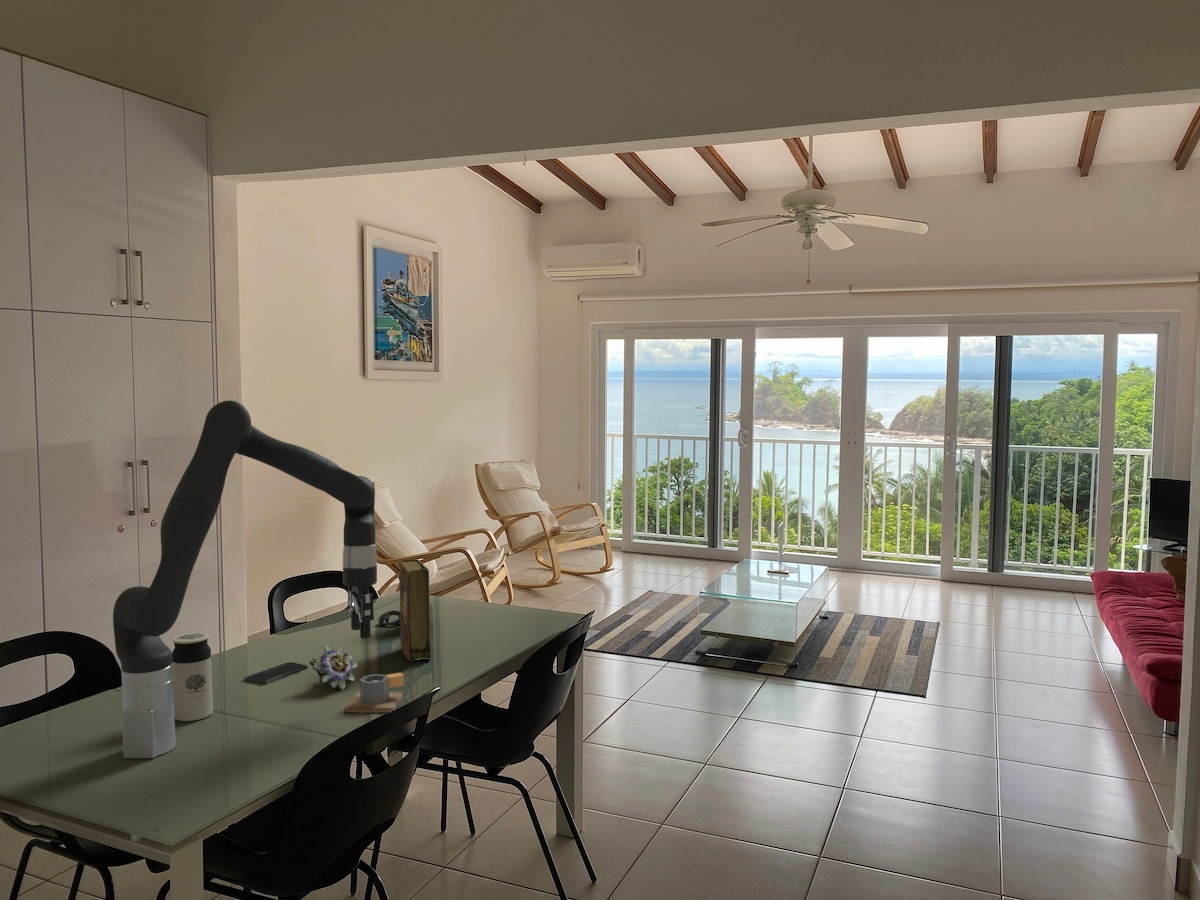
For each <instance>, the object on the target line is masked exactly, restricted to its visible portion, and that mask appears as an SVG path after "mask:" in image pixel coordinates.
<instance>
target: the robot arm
mask: <svg viewBox="0 0 1200 900" xmlns="http://www.w3.org/2000/svg"><path fill="white" fill-rule="evenodd" d="M236 454H238V455H240V456H241V455H242V456H244V457H247V458H249V459H253V460H255V461H258V462H261V463H262V464H265V465H268V466H270V467H272V468H275V469H276V470H278V471H281V472H283V473H285V474H287V475H289V476H291V477H292V478H294V479H296V480H299V481H300V482H303V483H304V484H306V485H309V486H310V487H313V488H315V489H317V490H320V491H322V492H323V493H326V494H327V495H329V496H331V497H332V498H334V499H335V500H337V501H339V502H341V503H342V504H344V505H343V506H344V517H345V518H344V524H343V549H342V550H343V551H342V583H343V586H345V587H347V609H348V610H349V614H350V629H351V630H352V631H359V638H360V639H363V640H364V639H365V640H366V639H369V638H371V637H372V636H371V635H372V634H371V622H372V621H374V619H375V617H374V614H375V613H374V594H373V593H371V592H369V591H370V589H369V587H371V586H374V585H376V584H377V583H378V566H377V565H378V559H377V556H378V555H377V547H376V546H377V545H376V525H375V504H376V503H375V502H376V501H375V500H376V489H375V485H374V483H373V481H372V480H370V479H369V478H368V477H365V476H364V475H363V476H362V475H356V474H355V473H353V472H350V471H348V470H346V469H344V468H341V467H340V466H339V465H338V464H337V463H335V462H334V461H332V460H331V459H329V458H327V457H325V456H322V454H318V453H317V452H314V451H312V450H311V449H308V448H305V447H302V446H299V445H297V444H296V445H295V444H293V443H289V442H285V441H282V440H279V439H277V438H274V437H272V436H270V435H268V434H266V433H264V432H263V431H261V430H260V429H258V428H257V427H255V426H254V425H253V424H252V419H251V415H250V413H249V411H248V409H247V408H246V407H245V405H243V404H242V403H240V402H239V401H236V400H229V399H227V400H223V401H221V402H218V403H216V404H215V405H213V406H212V407H211V408H210V409H209V410H208V412H207V413H206V416H205V420H204V424H203V428H202V431H201V434H200V438H199V440H198V443H197V446H196V450H195V452H194V453H193V456H192V458H191V460H190V463H189V464H188V465H187V466H186V469H185V470H184V473H183V475H182V476H181V478H180V480H179V481H178V484H177V485H176V488H175V490H174V492H173V494H172V496H171V498H170V500H169V502H168V505H167V507H166V509H165V511H164V513H163V516H162V519H161V522H160V548H161V549H160V551H161V552H160V554H161V555H160V562H159V565H158V568H157V570H156V573H155V575H154V578H153V580H152V582H151V584H150V586H149V587H147V586H139V585H137V586H131V587H129V588H127V589H124V590H123V591H122V592H121V593H120V594H119V595H118V597H117V598H116V599H115V603H114V605H113V611H112V623H113V624H112V626H113V635H114V644H115V645H114V646H115V654H116V655H117V658H118V660H119V662H120V667H121V668H120V669H121V690H122V691H121V693H122V713H121V722H122V723H121V727H122V748H123V749H122V750H123V752H122V753H123V759H154V758H156V757H158V756H161V755H165V754H166V753H168V752H171V751H172V750H173V749H175V747H176V744H177V743H176V727H175V726H176V723H175V722H176V721H175V720H176V719H175V718H174V692H173V665H172V652H173V651H172V650H171V648H169V647H168V646H167V644H166V643H164V641H163V640H162V639H161V637H160V636H162V635H164V634H166V633H167V632H169V630H171V628H172V627H173V626H174V624H175V623H176V622H177V619H178V617H179V615H180V612H181V608H182V605H183V603H184V599H185V595H186V592H187V589H188V585H189V583H190V578H191V575H192V573H193V570H194V567H195V564H196V562H197V560H198V557H199V555H200V552H201V549H202V547H203V544H204V542H205V539H206V537H207V535H208V533H209V531H210V529H211V526H212V524H213V521H214V518H215V517H216V514H217V512H218V509H219V505H220V502H221V499H222V495H223V491H224V487H225V484H226V480H227V475H228V471H229V469H230V465H231V464H232V461H233V458H234V456H235V455H236ZM366 614H367V615H366Z"/></svg>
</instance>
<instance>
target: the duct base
mask: <svg viewBox="0 0 1200 900" xmlns="http://www.w3.org/2000/svg"><path fill="white" fill-rule="evenodd" d="M375 681H378V680H373V681H371V682H375ZM403 695H404V696H405V691H389V699H388V700H387V701H385V702H384V703H379V704H363V703H362V701H361V700H360V691H356V694H355V695H354V696H353V697H352V698H351V700H350V701H349V702H348V703H347V704H346V706H344V713H345V712H350V714H351V712H353V713H354V712H355V713H390V712H389V711H391V710H393V709H395V708H396V709H397V707H398V706H399V704H400V703H399V701H400V700H401V698H402V696H403ZM402 699H403V698H402ZM401 701H402V700H401ZM401 701H400V702H401ZM398 703H399V704H398ZM397 705H398V706H397ZM396 709H395V710H396Z"/></svg>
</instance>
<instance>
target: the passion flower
mask: <svg viewBox="0 0 1200 900" xmlns="http://www.w3.org/2000/svg"><path fill="white" fill-rule="evenodd" d="M323 652H324V653H323V654H322V655H321V656H320V657H315V656H314V657H313V658H312V660H310V662H309V665H310V666H312V669H313V670H315V671H316V672H317V676H318V677H319V683H320V684H321V683H322V684H324V683H326V682H328V685H329V686H330V687H329V688H331V689H332V690H334V689H336V687H337V688H338V689H339V690H341V691H343V690H344V689H346V681H347V680H348V681H351V682H354V681H355V676H354V672H355V671H356V670H355V669H357V667H358V665H359V664H358V663H356V662H354V661H353V656H352V655H348V653H346V652H344V651H343V648H342V647H340V648H338V649H336V651H335V649H334V648H332V649H330V648H329V646H328V645H325V646H324V649H323ZM319 659H320V660H319ZM318 660H319V661H318ZM353 671H354V672H353Z"/></svg>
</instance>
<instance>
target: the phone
mask: <svg viewBox="0 0 1200 900" xmlns="http://www.w3.org/2000/svg"><path fill="white" fill-rule="evenodd" d="M307 668H308V669H309V665H307V664H303V663H297V662H292V661H290V662H285V663H282V664H279V665H277V666H273V667H271V668H267V669H265V670H261V671H259V672H256V673H252V674H249V675H246V676H244V679H243V680H244V682H247V683H250V684H256V685H260V686H266V685H268V684H271V683H275V682H277V680H278V681H280V680H279V679H281V680H282V678H283V679H286V678H288V677H287V676H289V675H292V674H294V675H296V674H295V673H297V674H299V673H298V672H300V671H302V670H305V669H307ZM300 673H301V672H300ZM292 676H293V675H292ZM285 677H286V678H285ZM289 677H290V676H289ZM274 681H275V682H274Z"/></svg>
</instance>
